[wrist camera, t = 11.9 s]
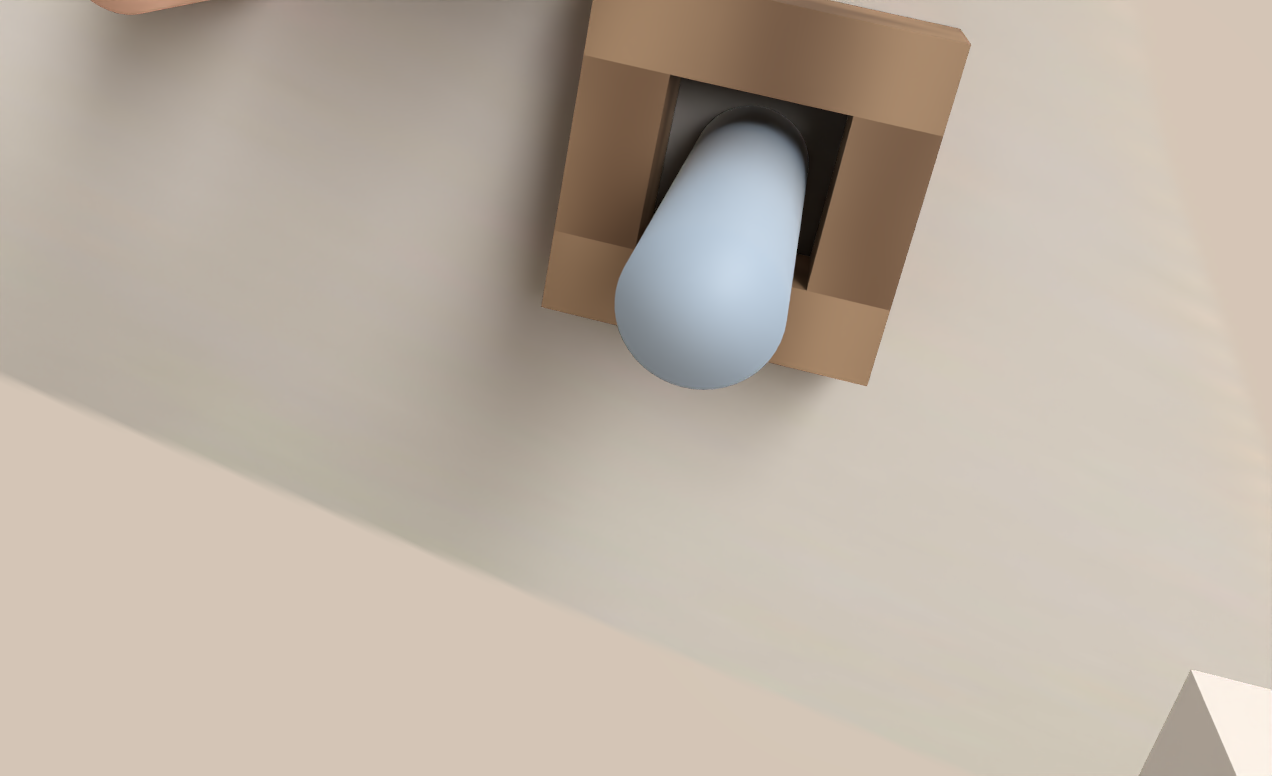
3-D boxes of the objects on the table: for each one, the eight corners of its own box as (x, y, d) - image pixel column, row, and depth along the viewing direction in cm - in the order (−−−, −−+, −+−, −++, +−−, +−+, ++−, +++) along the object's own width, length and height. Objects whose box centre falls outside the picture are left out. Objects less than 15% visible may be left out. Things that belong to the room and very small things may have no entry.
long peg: (681, 205, 33) (599, 365, 23) (707, 93, 32) (633, 206, 21) (791, 232, 33) (762, 407, 22) (822, 121, 32) (807, 250, 21)
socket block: (565, 272, 35) (540, 306, 32) (621, -46, 31) (598, -38, 28) (865, 345, 34) (866, 386, 31) (960, 29, 30) (970, 44, 28)
